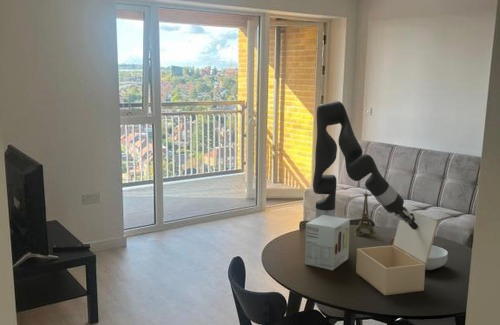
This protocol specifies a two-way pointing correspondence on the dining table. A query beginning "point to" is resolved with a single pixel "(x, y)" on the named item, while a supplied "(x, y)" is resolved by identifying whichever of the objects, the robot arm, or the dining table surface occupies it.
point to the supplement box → (327, 241)
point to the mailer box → (390, 270)
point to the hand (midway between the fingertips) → (415, 227)
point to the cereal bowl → (435, 258)
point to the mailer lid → (416, 236)
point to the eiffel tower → (364, 216)
